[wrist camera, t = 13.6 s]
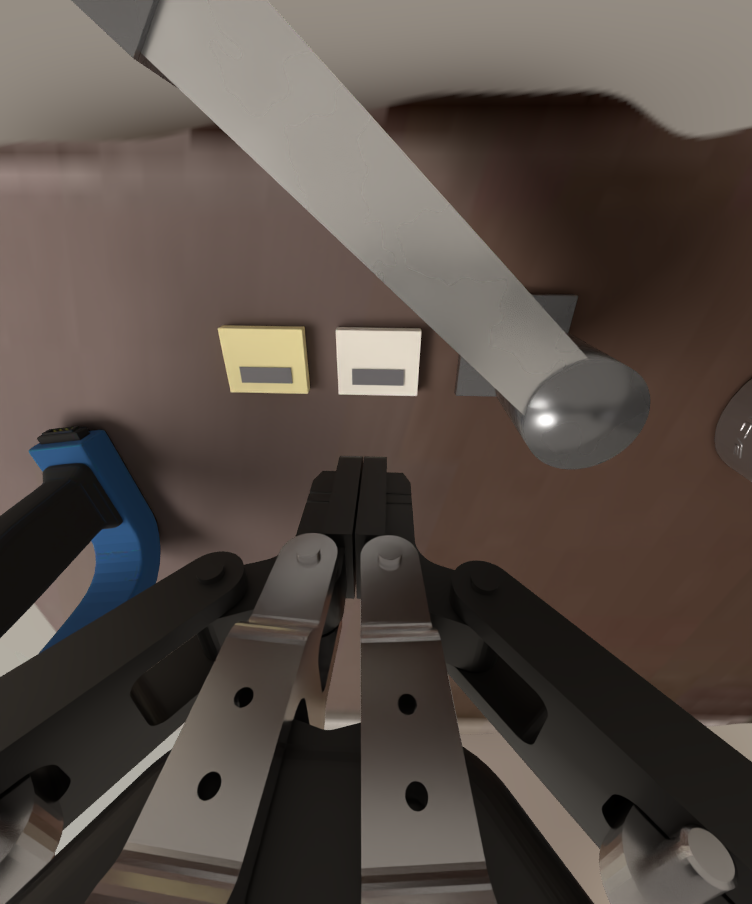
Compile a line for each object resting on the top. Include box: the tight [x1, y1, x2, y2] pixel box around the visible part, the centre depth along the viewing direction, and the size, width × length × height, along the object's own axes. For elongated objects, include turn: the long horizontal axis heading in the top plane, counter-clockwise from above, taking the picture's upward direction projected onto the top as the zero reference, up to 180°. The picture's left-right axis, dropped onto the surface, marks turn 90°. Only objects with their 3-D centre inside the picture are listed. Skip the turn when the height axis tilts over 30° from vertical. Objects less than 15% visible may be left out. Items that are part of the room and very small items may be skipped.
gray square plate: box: [455, 294, 578, 396], centre depth 20 cm, size 6×6×5 cm
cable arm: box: [72, 0, 650, 469], centre depth 13 cm, size 21×4×5 cm, turn 50°
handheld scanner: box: [0, 426, 160, 654], centre depth 21 cm, size 5×16×20 cm, turn 8°
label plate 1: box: [218, 325, 310, 394], centre depth 23 cm, size 5×4×1 cm
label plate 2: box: [336, 327, 421, 396], centre depth 23 cm, size 5×4×1 cm
